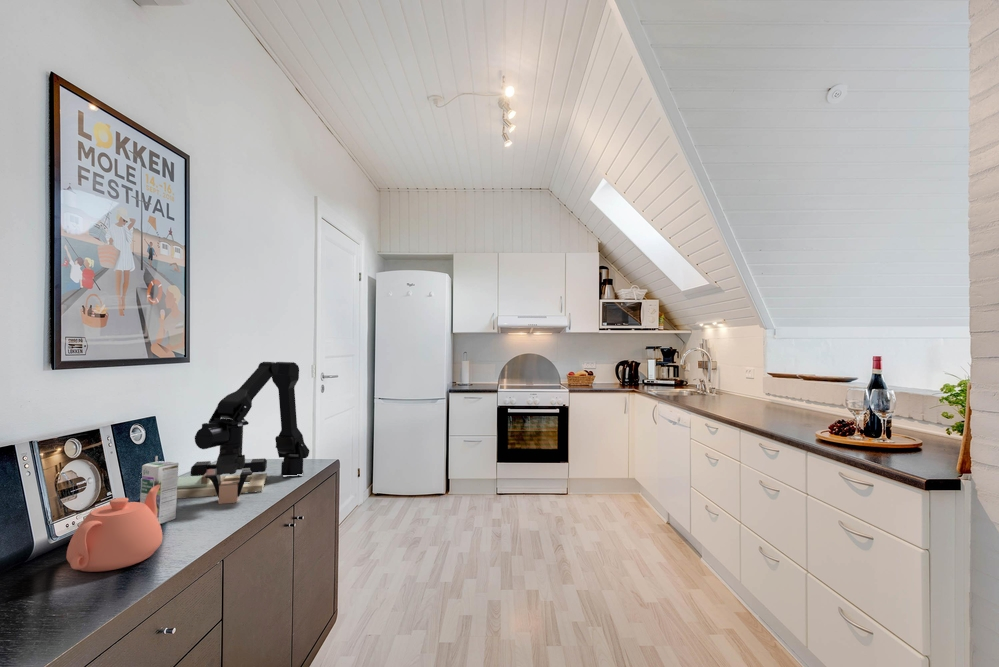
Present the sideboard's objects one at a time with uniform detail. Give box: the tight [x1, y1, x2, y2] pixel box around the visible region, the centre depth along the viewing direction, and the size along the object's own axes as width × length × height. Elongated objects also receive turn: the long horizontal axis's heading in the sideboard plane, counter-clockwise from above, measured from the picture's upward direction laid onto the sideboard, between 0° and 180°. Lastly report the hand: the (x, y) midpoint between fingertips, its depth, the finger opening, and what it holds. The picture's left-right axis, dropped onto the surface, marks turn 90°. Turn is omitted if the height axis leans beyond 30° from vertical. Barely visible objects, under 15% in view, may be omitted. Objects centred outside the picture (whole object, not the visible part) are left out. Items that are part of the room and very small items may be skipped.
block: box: [218, 481, 240, 505], centre depth 140 cm, size 4×4×5 cm
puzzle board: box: [177, 472, 268, 499], centre depth 152 cm, size 24×15×2 cm, turn 111°
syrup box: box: [139, 460, 180, 525], centre depth 123 cm, size 6×6×14 cm
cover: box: [177, 473, 211, 488], centre depth 149 cm, size 11×11×3 cm
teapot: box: [66, 485, 163, 573], centre depth 102 cm, size 22×16×12 cm
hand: (229, 497), depth 140 cm, fingers closed on block, 4 cm apart
